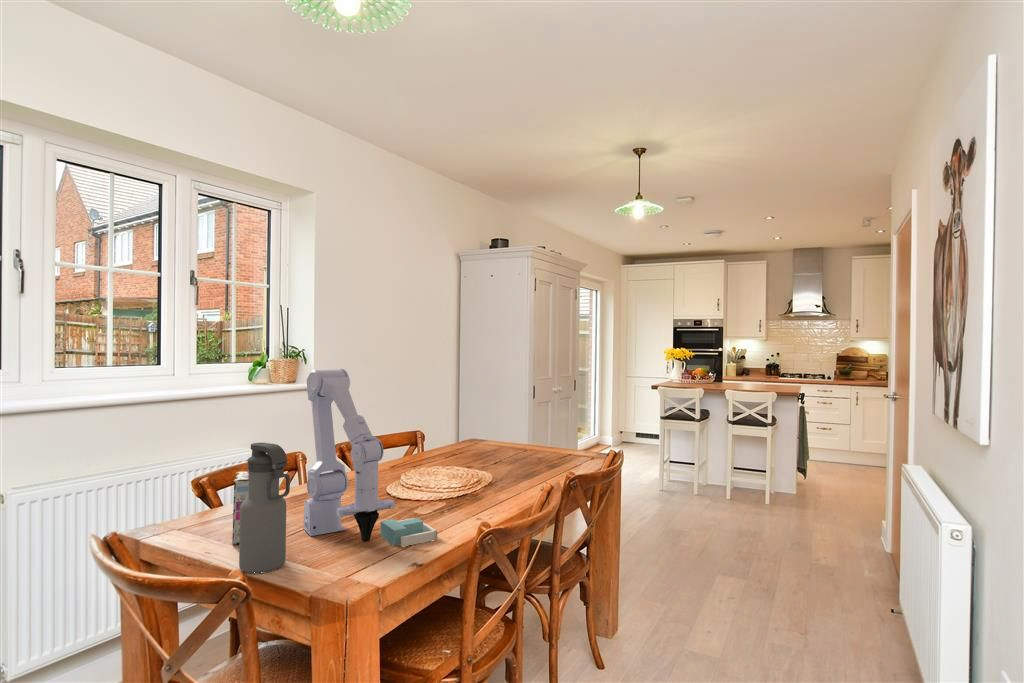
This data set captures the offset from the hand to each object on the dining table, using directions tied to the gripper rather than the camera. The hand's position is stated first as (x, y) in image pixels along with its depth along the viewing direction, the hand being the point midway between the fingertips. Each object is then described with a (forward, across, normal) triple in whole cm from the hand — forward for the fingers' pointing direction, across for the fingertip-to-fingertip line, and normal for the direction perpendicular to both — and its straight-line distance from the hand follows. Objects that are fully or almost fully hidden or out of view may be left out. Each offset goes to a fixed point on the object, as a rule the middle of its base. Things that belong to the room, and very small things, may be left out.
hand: (365, 540), depth 145 cm
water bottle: (+1, -24, 0) cm, 25 cm away
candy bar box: (+1, -24, +22) cm, 33 cm away
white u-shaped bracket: (+1, +12, 0) cm, 12 cm away
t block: (+1, +10, 0) cm, 11 cm away
